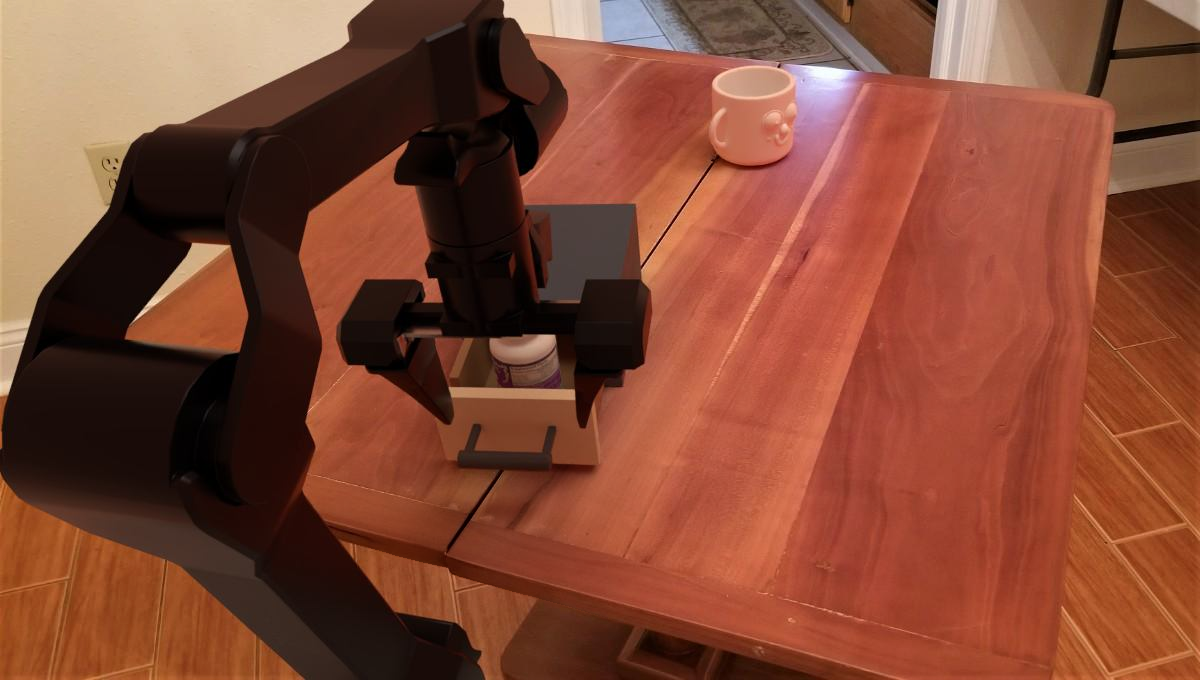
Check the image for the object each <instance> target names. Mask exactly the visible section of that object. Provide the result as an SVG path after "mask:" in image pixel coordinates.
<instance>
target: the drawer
mask: <svg viewBox="0 0 1200 680" xmlns="http://www.w3.org/2000/svg"><path fill="white" fill-rule="evenodd" d="M555 337H556V344H557V351H558V358H559V365H560V371H561V378H562V384H563V389H522V388H498V384H497V380H496V375H495V370H494V365H493V360H492V356H491V352H490V344H489V343H490V338H464V340H462V343H461V345H460V348H459V351H458V353H457V355H456V358H455V360H454V363H453V364H452V365H453V366H452V368H451V371H450V373H449V376H448V381H449V384H450V386H448V387H449V390H450V394H451V397H452V403H453V409H454V418H453V421H452V423H451V425H445V424H443V423H442V422H441V421H440V420H439V419H437V418H436V417H435V416H434V418H435V424H436V426H437V431H438V433H439V438H440V441H441V444H442V448H443V452H444V456H445V460H446V461H456V465H457V468H458V469H460V470H486V471H488V470H489V471H511V472H512V471H513V472H515V471H516V472H518V471H519V472H543V473H544V472H545V473H550V472H551V471H552V469H553V464H556V465H557V464H558V465H585V466H586V465H587V466H590V465H592V466H599V465H600V463H601V457H602V449H601V442H600V435H599V434H600V433H599V427H598V426H599V425H598V418H599V413H600V407H601V402H602V397H603V392H604V387H605V386H604V384H603V386H602V387H601V389H600V391H599V392H598V394H597V396H596V398H595V400H594V402H593V406H592V409H591V412H590V416H589V419H588V423H587V426H586V428H585V429H581V428H580V427H579V424H578V421H577V418H576V404H575V388H574V369H575V365H576V361H577V359H576V354H575V347H574V335H555Z"/></svg>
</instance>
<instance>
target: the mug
mask: <svg viewBox="0 0 1200 680" xmlns="http://www.w3.org/2000/svg"><path fill="white" fill-rule="evenodd" d="M798 110H799V109H798V107H797V103H796V78H795V77H794V75H793V74H792V73H791V72H789V71H787V70H785V69H782V68H780V67H775V66H769V65H746V66H745V65H744V66H739V67H734V68H730V69H728V70H724V71H723V72H721V73H719V74H718V75H717V76H715V77H714V79H713V80H712V83H711V116H712V117H711V122H710V125H709V128H708V138H709V139H708V140H709V141H710V144H711V146H713V149H714V151H715V153H716V154H717V155H718V156H719V158H721V159H723V160H725V161H726V162H729V163H731V164H736V165H740V166H763V165H768V164H772V163H775V162H777V161H779V160H781V159H783V158H784V157H786V156H787V155H788V153H790V151H791V150H792V148H793V145H794V132H795V119H796V118H797V117H798V112H799V111H798Z"/></svg>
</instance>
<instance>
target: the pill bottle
mask: <svg viewBox="0 0 1200 680" xmlns="http://www.w3.org/2000/svg"><path fill="white" fill-rule="evenodd" d="M489 344H490V352H491V356H492V360H493V365H494V370H495V375H496V380H497V384H498V388H522V389H563V384H562V378H561V371H560V365H559V358H558V351H557V344H556V337H555V335H523V336H522V337H505V338H502V339H494V338H490V343H489Z"/></svg>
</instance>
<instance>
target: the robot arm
mask: <svg viewBox="0 0 1200 680" xmlns="http://www.w3.org/2000/svg"><path fill="white" fill-rule="evenodd" d="M504 10H505V1H504V0H372V1H371V2H370V3H368V4H367V5H366V6H365V7H363V8H362V9H361V10H360V11H359V12H358V13H357V14H356V15H355V16H353V17H352V18H351V19H350V20H349V22H348V23H347V25H346V28H347V35H348V41H347V42H346V43H345V44H344V45H342V46H341V47H340V48H339V49H337V50H335V51H333V52H330V53H329V54H326V55H324V56H322V57H320V58H318V59H316V60H313V61H311V62H310V63H307V64H306V65H303V66H301V67H299V68H297V69H295V70H293V71H290V72H288V73H286V74H284V75H283V76H282V75H281V76H280V77H278V78H276V79H273V80H271V81H269V82H268V83H265V84H263V85H261V86H259V87H256V88H255V89H252V90H251V91H248V92H246V93H244V94H242V95H239V96H238V97H236V98H234V99H232V100H229V101H228V102H227V101H226V102H225V103H223V104H221V105H219V106H217V107H215V108H213V109H210V110H208V111H206V112H204V113H202V114H200V115H197V116H196V117H194V118H192V119H190V120H187V121H185V122H181V123H166V124H163V125H159V126H158V127H156V128H155V129H154V130H153V131H148V132H143V133H142V134H141V135H139V136H138V137H137V138H136V139H135V140H133V141H132V142H131V143H130V144H129V147H128V149H127V151H126V153H125V155H124V157H123V159H122V163H121V166H120V169H119V173H118V176H117V178H116V179H117V180H116V183H115V186H114V190H113V193H112V196H111V200H110V204H109V205H108V206H109V207H108V208H107V210H106V212H105V213H104V214H103V215H102V217H100V219H99V220H98V221H97V223H96V224H95V225H94V226H93V227H92V228H91V230H89V232H88V233H87V234H86V235H85V237H83V239H82V240H81V242H80V243H79V244H78V245H77V246H76V248H75V249H74V250H73V251H72V252H71V253H70V254H69V256H68V257H67V258H66V259H65V261H64V262H63V263H62V264H61V266H60V267H59V268H58V269H57V270H56V271H55V272H54V274H53V275H52V277H50V279H49V280H48V281H47V283H45V285H44V286H43V287H42V289H41V291H40V293H39V295H38V297H37V299H36V303H35V306H34V308H33V312H32V316H31V319H30V322H29V325H28V328H27V331H26V335H25V338H24V342H23V345H22V349H21V352H20V354H19V358H18V361H17V365H16V368H15V371H14V373H13V374H14V375H13V377H12V381H11V384H10V387H9V391H8V393H7V397H6V401H5V403H4V407H3V413H2V414H3V415H2V421H1V429H0V431H1V448H0V476H1V478H2V480H3V481H4V482H5V484H6V485H7V486H8V488H9V489H10V490H11V491H12V493H14V495H15V496H16V497H17V499H19V500H21V501H23V502H24V503H26V504H27V505H29V506H31V507H32V508H35V509H36V510H39V511H41V512H44V513H46V514H48V515H50V516H52V517H54V518H56V519H58V520H60V521H63V522H64V523H67V524H68V525H71V526H72V527H75V528H77V529H79V530H82V531H83V532H86V533H88V534H91V535H93V536H96V537H99V538H102V539H104V540H107V541H111V542H114V543H116V544H119V545H121V546H125V547H128V548H130V549H133V550H137V551H139V552H142V553H145V554H148V555H151V556H154V557H157V558H158V559H159V558H160V559H162V560H164V561H168V562H170V563H173V564H175V565H177V566H178V567H180V568H181V569H183V571H185V572H186V573H187V574H188V575H189V576H190V577H191V578H192V579H194V581H195V582H197V583H198V584H199V585H200V586H202V587H203V589H205V590H206V591H207V592H208V593H209V594H210V595H211V596H212V597H213V598H214V599H215V600H217V601H218V602H219V603H220V605H222V606H223V607H224V608H225V609H227V610H228V611H229V613H231V614H232V615H233V616H234V617H235V618H237V619H238V620H239V621H240V622H241V623H242V624H243V625H244V626H245V627H246V628H247V629H248V630H250V631H251V632H252V633H253V634H254V635H255V636H256V637H257V638H258V639H259V640H261V641H262V642H263V643H264V644H265V645H266V646H267V647H268V648H269V649H271V650H272V652H274V654H276V655H277V656H278V657H279V658H280V659H282V660H283V661H284V662H285V664H287V666H289V667H290V668H291V669H292V670H294V671H295V673H297V674H298V675H299V676H300V677H301V678H303V680H486V676H485V674H484V671H483V669H482V667H481V665H480V664H479V660H480V659H481V657H482V654H483V651H482V650H481V649H475V648H474V647H473V646H472V644H471V641H470V638H469V636H468V632H467V631H466V630H465V629H464V628H463V627H462V626H461V625H459V623H457V622H455V621H448V620H444V619H438V618H432V617H426V616H421V615H415V614H411V613H404V612H398V611H395V610H394V609H393V608H392V607H391V605H390V604H389V603H388V601H387V600H386V599H385V597H384V596H383V595H382V593H381V591H379V590H378V588H377V587H376V585H374V583H373V582H372V580H371V579H370V577H369V576H368V575H367V574H366V572H365V571H364V570H363V569H362V568H361V566H360V565H359V564H358V563H357V561H356V559H354V557H353V556H352V554H351V553H350V552H349V550H348V549H347V548H346V547H345V546H344V544H343V543H342V542H341V541H340V539H339V538H338V536H337V535H336V534H335V532H333V530H332V529H331V527H330V526H329V525H328V523H327V522H326V521H325V519H324V518H323V517H322V515H320V512H318V511H317V509H316V508H315V506H314V505H313V504H312V503H311V501H310V500H309V499H308V498H307V496H306V495H305V493H304V491H303V488H304V485H305V482H306V479H307V476H308V473H309V469H310V467H311V463H312V461H313V459H314V455H315V451H316V448H317V447H316V443H315V440H314V438H313V436H312V434H311V431H310V428H309V427H308V424H307V418H308V414H309V408H310V404H311V400H312V397H313V391H314V386H315V382H316V377H317V373H318V370H319V364H320V362H321V361H320V360H321V356H322V351H323V336H322V332H321V329H320V326H319V323H318V319H317V317H316V316H317V315H316V313H315V309H314V306H313V302H312V298H311V295H310V291H309V288H308V285H307V281H306V278H305V274H304V271H303V267H302V264H301V260H300V251H301V247H302V244H303V241H304V236H305V231H306V227H307V224H308V219H309V214H310V212H313V210H315V209H316V208H318V207H319V206H320V205H322V204H323V203H325V201H327V200H328V199H329V198H331V197H333V196H334V195H335V194H337V193H338V192H340V191H341V190H342V189H343V188H345V187H346V186H348V185H349V184H350V183H352V182H353V181H355V180H356V179H357V178H359V177H360V176H361V175H363V174H364V173H366V172H367V171H368V170H370V169H371V168H372V167H374V166H375V165H377V164H378V163H379V162H381V161H382V160H384V159H385V158H386V157H388V156H389V155H390V154H393V152H395V151H396V150H398V149H399V148H400V147H402V146H403V145H405V144H406V143H407V144H406V147H405V149H404V151H403V153H402V154H400V156H399V158H398V159H397V160H396V163H395V167H394V171H393V176H392V177H393V181H394V183H395V184H396V185H397V186H406V187H407V186H409V187H414V189H415V194H416V197H417V202H418V205H419V211H420V213H421V218H422V222H423V225H424V231H425V235H426V239H427V242H428V248H429V254H428V256H427V258H426V260H425V262H424V267H425V271H426V276H427V279H429V280H430V279H433V280H435V279H436V280H437V283H438V288H439V293H440V297H441V301H442V302H440V301H439V302H436V301H435V302H432V301H431V302H428V301H427V302H426V301H425V298H426V296H427V295H426V291H425V286H424V284H423V282H422V281H420V280H418V279H416V278H415V279H414V278H397V279H396V278H365V279H364V280H363V281H362V282H361V284H360V285H359V287H358V288H357V289H356V291H355V293H354V294H353V296H352V298H351V300H350V301H349V303H348V305H347V307H346V309H345V310H344V312H343V314H342V315H341V317H340V319H339V321H338V322H337V324H336V329H335V341H336V344H337V347H338V349H339V353H340V355H341V359H342V360H343V362H344V363H345V364H346V365H347V366H362V367H363V366H364V369H365V370H366V373H368V374H370V375H378V376H380V377H383V379H385V380H386V381H388V382H390V383H391V384H393V385H394V386H395V387H397V388H398V389H399V390H401V391H403V392H404V393H405V394H407V395H408V396H410V397H411V398H412V399H413V400H414V401H416V402H417V403H419V405H421V406H422V407H423V408H424V409H425V410H426V411H428V412H429V413H430V414H431V415H432V416H434V418H435V417H436V418H437V419H439V420H440V421H441V422H442V423H443V424H445V425H451V423H452V421H453V418H454V409H453V403H452V397H451V394H450V390H449V387H450V386H449V384H448V381H447V378H446V375H445V371H444V369H443V364H442V362H441V358H440V355H439V352H438V349H437V345H436V339H462V338H494V339H502V338H505V337H522V336H523V335H574V347H575V354H576V359H577V361H576V365H575V369H574V388H575V404H576V418H577V421H578V424H579V427H580V428H581V429H585V428H586V426H587V423H588V419H589V416H590V412H591V409H592V406H593V402H594V400H595V398H596V396H597V394H598V392H599V391H600V389H601V387H602V386H603V384H604V382H605V380H606V379H615V378H619V377H621V376H622V375H623V373H624V370H626V371H635V370H637V369H638V368H640V367H642V366H643V365H645V363H646V357H647V351H648V344H649V337H650V332H651V331H650V330H651V323H652V319H653V300H652V291H651V289H650V288H649V287H648V286H647V284H645V283H644V281H643V280H640V279H586V281H585V285H584V289H583V293H582V297H581V300H540V299H539V293H538V289H545V288H546V285H547V282H548V279H549V275H548V268H547V262H548V261H551V260H552V259H553V256H552V238H551V221H550V213H549V212H547V211H529V210H525V208H524V205H525V202H524V196H523V189H522V184H521V183H522V182H521V177H523V176H525V175H527V174H529V172H531V171H532V170H534V168H535V167H536V165H537V164H538V162H539V160H540V159H541V158H542V156H543V154H544V153H545V151H546V149H547V148H548V147H549V145H550V143H551V142H552V140H553V138H554V137H555V136H556V134H557V133H558V131H559V129H560V128H561V126H562V124H563V123H564V121H565V119H566V117H567V114H568V111H569V96H568V95H569V94H568V90H567V89H566V87H565V86H564V85H563V82H562V79H560V77H559V76H558V74H557V73H556V72H555V70H554V69H552V67H550V66H549V65H547V64H546V63H545V62H543V61H542V60H540V59H538V57H537V55H536V54H535V52H534V50H533V48H532V46H531V41H530V39H529V38H527V37H526V35H525V33H524V32H523V31H524V30H522V28H521V25H520V24H519V22H518V21H517V20H516V18H515V17H510V16H509V17H508V16H507V17H506V16H505V14H504ZM193 244H201V245H216V246H218V245H219V246H230V249H231V250H230V251H231V254H232V258H233V261H234V266H235V268H236V273H237V277H238V279H239V285H240V288H241V292H242V296H243V299H244V304H245V308H246V311H247V319H246V324H245V329H244V333H243V337H242V340H241V344H240V348H239V350H231V349H223V348H214V347H213V348H212V347H203V346H194V345H184V344H177V343H176V344H175V343H166V342H165V343H164V342H155V341H146V340H138V339H126V337H127V332H128V329H129V328H130V326H131V325H132V323H133V322H134V321H135V320H136V318H137V317H138V316H139V315H140V314H141V312H142V311H143V310H144V309H145V308H146V306H147V305H148V304H149V303H150V302H151V301H152V299H153V298H154V297H155V296H156V294H157V293H158V292H159V290H160V289H161V288H162V287H163V286H164V284H165V283H167V281H168V279H169V278H170V277H171V276H172V275H173V274H174V272H175V271H176V270H177V269H178V268H179V266H180V265H181V264H182V263H183V261H184V260H185V259H186V258H187V256H188V254H189V252H190V250H191V248H192V246H193ZM424 301H425V302H424Z"/></svg>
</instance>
